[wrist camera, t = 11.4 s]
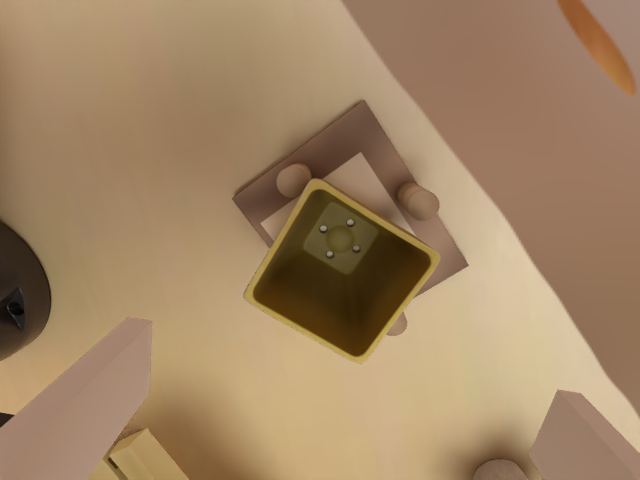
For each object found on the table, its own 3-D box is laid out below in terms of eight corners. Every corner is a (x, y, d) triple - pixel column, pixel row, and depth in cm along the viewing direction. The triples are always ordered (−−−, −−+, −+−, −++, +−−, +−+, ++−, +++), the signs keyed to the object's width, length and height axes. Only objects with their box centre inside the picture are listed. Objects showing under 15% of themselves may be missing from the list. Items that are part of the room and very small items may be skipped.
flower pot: (267, 253, 29) (238, 300, 21) (320, 163, 27) (312, 174, 19) (354, 303, 30) (361, 368, 22) (412, 221, 28) (446, 256, 19)
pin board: (235, 196, 29) (210, 210, 24) (363, 101, 27) (370, 90, 21) (341, 334, 33) (342, 376, 27) (464, 261, 30) (495, 290, 24)
